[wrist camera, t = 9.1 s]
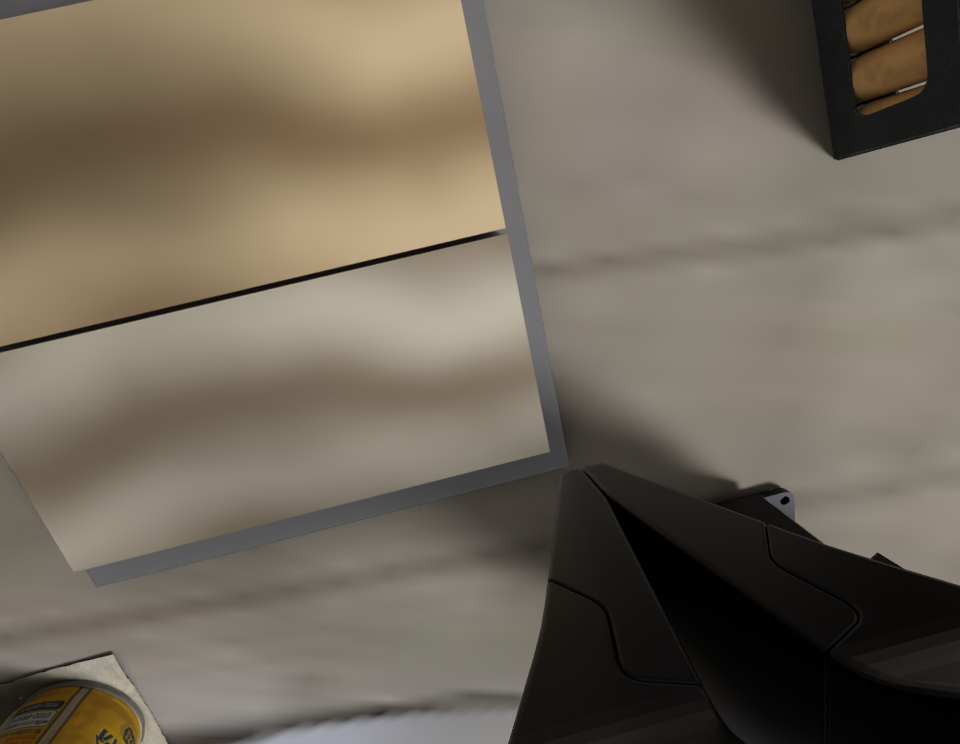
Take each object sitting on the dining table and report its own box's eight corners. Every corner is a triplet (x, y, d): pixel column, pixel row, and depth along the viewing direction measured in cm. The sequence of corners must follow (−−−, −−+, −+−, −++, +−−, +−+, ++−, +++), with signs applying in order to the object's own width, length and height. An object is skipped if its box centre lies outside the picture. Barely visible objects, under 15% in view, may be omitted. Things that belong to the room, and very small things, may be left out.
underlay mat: (563, 456, 22) (569, 466, 21) (111, 571, 21) (96, 587, 20) (451, -138, 15) (452, -163, 14) (-211, -2, 15) (-257, -20, 14)
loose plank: (541, 436, 20) (550, 451, 19) (99, 548, 20) (73, 572, 18) (501, 233, 18) (507, 233, 16) (-12, 354, 17) (-52, 365, 16)
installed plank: (499, 229, 18) (505, 228, 16) (-12, 349, 17) (-53, 359, 16) (445, -44, 15) (445, -74, 14) (-161, 84, 15) (-226, 67, 13)
